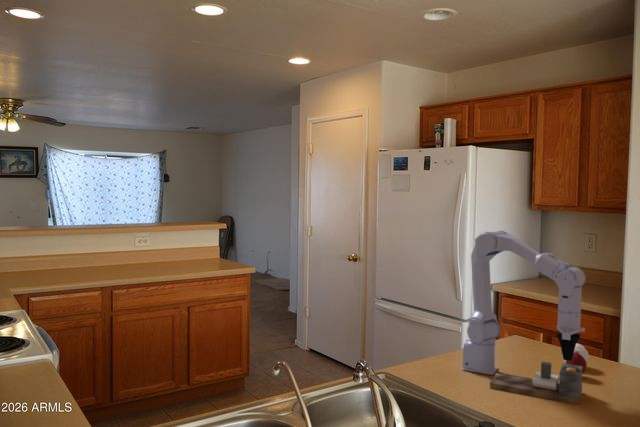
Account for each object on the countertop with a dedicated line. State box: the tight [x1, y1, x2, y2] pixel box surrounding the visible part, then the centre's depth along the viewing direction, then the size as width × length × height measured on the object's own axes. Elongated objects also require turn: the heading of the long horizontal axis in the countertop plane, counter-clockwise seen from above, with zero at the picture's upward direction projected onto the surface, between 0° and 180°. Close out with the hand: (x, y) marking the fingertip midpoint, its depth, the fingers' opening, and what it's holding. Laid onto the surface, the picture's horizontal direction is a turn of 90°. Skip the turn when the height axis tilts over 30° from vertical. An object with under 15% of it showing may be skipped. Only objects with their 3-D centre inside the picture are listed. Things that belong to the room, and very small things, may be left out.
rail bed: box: [489, 362, 583, 405], centre depth 151 cm, size 23×10×8 cm, turn 60°
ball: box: [561, 343, 589, 364], centre depth 173 cm, size 8×8×8 cm
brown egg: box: [566, 367, 576, 372], centre depth 147 cm, size 3×3×4 cm
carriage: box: [532, 361, 559, 390], centre depth 150 cm, size 6×7×6 cm
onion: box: [565, 350, 588, 374], centre depth 163 cm, size 6×6×8 cm
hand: (567, 359), depth 148 cm, fingers closed
